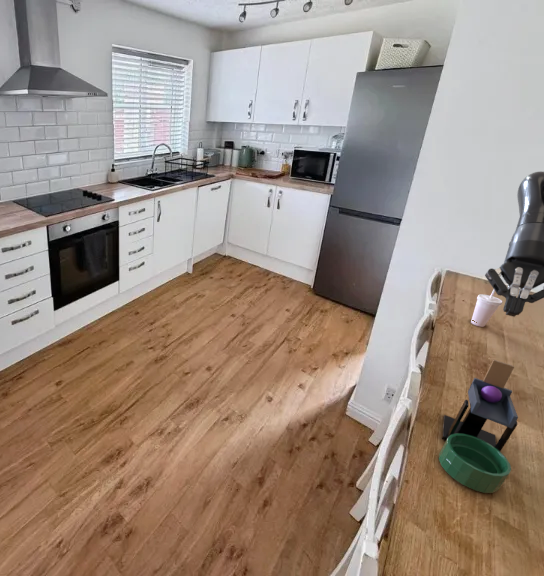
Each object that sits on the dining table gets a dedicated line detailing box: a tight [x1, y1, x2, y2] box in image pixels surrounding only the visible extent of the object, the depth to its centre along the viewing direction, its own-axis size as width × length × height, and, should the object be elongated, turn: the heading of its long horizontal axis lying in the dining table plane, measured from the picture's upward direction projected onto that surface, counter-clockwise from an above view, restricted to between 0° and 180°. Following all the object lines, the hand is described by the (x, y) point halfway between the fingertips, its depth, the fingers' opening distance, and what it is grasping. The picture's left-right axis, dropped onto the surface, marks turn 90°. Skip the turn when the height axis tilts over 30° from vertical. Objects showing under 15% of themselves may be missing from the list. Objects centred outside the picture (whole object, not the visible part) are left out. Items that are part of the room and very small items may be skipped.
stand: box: [441, 399, 518, 452], centre depth 75 cm, size 9×9×10 cm
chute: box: [467, 359, 519, 428], centre depth 71 cm, size 10×6×8 cm, turn 143°
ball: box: [481, 386, 502, 403], centre depth 74 cm, size 3×3×3 cm
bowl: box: [438, 433, 512, 494], centre depth 69 cm, size 9×9×5 cm
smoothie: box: [470, 288, 503, 328], centre depth 121 cm, size 6×6×14 cm
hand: (511, 314), depth 80 cm, fingers closed
